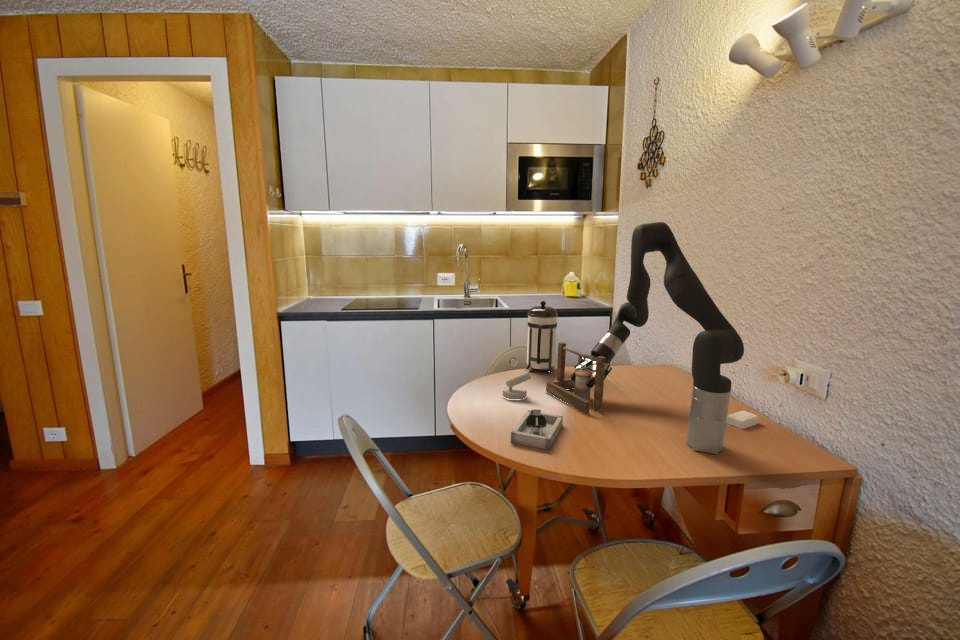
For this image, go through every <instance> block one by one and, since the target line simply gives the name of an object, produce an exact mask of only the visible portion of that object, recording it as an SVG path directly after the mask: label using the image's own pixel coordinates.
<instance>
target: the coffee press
mask: <svg viewBox="0 0 960 640" xmlns="http://www.w3.org/2000/svg"><path fill="white" fill-rule="evenodd" d="M546 305H547V303H546V301H545V300H541V302H540V306H539V305H538V306H537V305H536V306H532V307H530V309H529V311H527V317H528V318H527V346H526V350H527V351H526V364H527V367H526V368H525V370H526V369H528V370H529V369H531V370H533V369H535V370H546V371H547V372H548V371H550V374H552V373H551V372H554V370H553V369H552V368H554V367H555V362H556V343H557V342H556V340H557V328H558V316H559V313H558V312H557V309H555V308H554V307H551V306H546Z"/></svg>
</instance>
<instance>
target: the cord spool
mask: <svg viewBox="0 0 960 640" xmlns="http://www.w3.org/2000/svg"><path fill="white" fill-rule="evenodd" d="M574 371H575V370H574ZM575 375H576V379H575V389H574V394H575V395H577V396H579V397H581V398H583V399H585V400H587V401H589V400H590V401H591V389H590V388H588V387H587V386H586V384H587V383H588V381H589V380H590V379H591V377H593V372H592V371H589V370H581V369H580V370H577V371H575ZM590 401H589V402H590Z"/></svg>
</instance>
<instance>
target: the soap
mask: <svg viewBox="0 0 960 640" xmlns="http://www.w3.org/2000/svg"><path fill="white" fill-rule="evenodd" d="M759 420H760V417H759V415H757V414H754V413H751V412H749V411H745V410H740V411H737V412H734V413H731V414H727V422H726V425H727V424H728V425H731V426H732V427H736V428H738V429H741V430H744V429H747V428H750V427H753V426H756V425H758V424H759Z"/></svg>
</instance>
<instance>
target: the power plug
mask: <svg viewBox="0 0 960 640" xmlns="http://www.w3.org/2000/svg"><path fill="white" fill-rule="evenodd" d="M530 411H531V413H532V415H531V416H528V418H527V421H526V426H528V427H529V428H531V434H533V428H539V435H540V436H542V428H545V427H546V419H545V417H544V416H542V415H541V413H542V410H541V409H533V408H532V409H531V410H530ZM540 412H541V413H540Z"/></svg>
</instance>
